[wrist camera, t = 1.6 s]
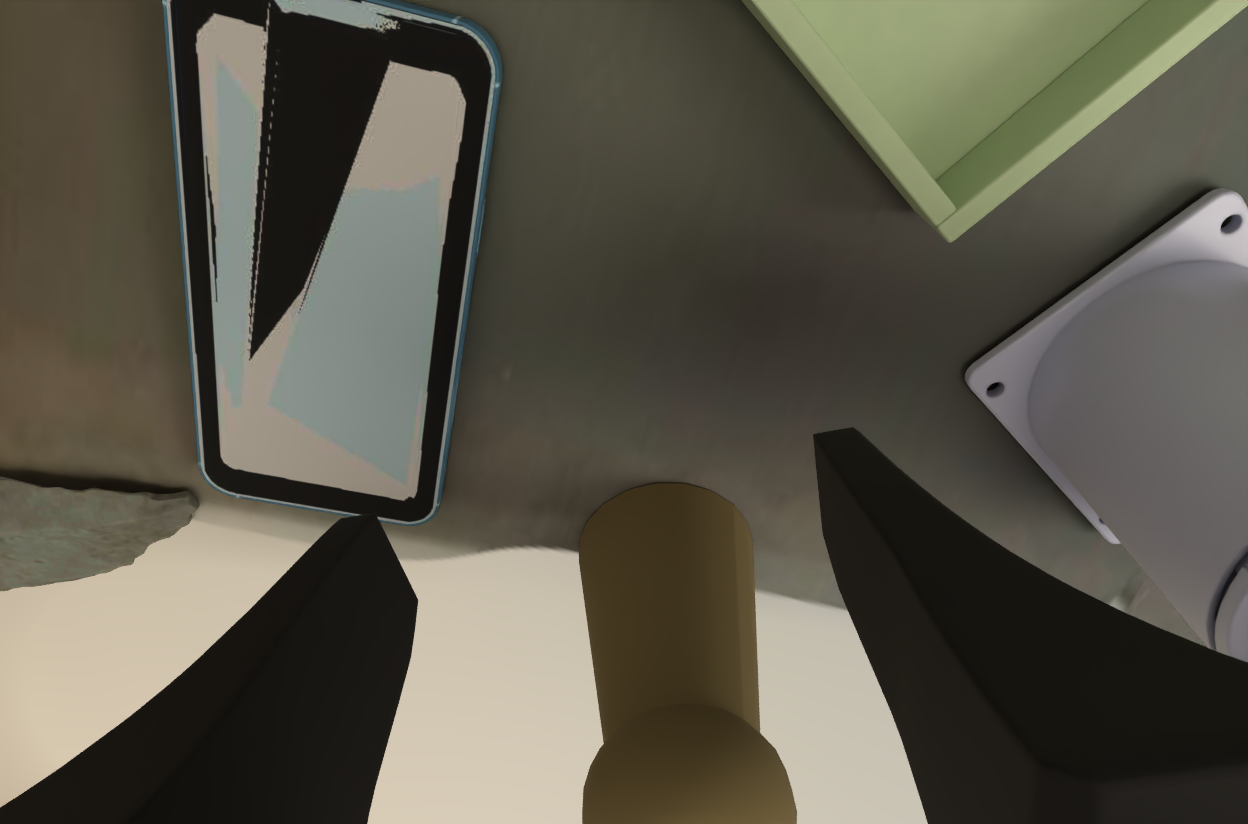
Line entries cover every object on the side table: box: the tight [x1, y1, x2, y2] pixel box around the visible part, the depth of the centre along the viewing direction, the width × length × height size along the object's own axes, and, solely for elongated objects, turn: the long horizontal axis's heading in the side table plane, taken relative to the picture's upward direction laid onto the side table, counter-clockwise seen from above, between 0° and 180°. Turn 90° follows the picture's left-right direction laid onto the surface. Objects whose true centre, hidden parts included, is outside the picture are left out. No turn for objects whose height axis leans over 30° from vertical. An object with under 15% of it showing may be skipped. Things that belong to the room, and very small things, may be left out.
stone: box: [0, 479, 199, 591], centre depth 25 cm, size 11×2×5 cm
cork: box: [579, 483, 797, 824], centre depth 22 cm, size 6×6×11 cm
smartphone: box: [162, 0, 503, 526], centre depth 21 cm, size 7×1×15 cm
